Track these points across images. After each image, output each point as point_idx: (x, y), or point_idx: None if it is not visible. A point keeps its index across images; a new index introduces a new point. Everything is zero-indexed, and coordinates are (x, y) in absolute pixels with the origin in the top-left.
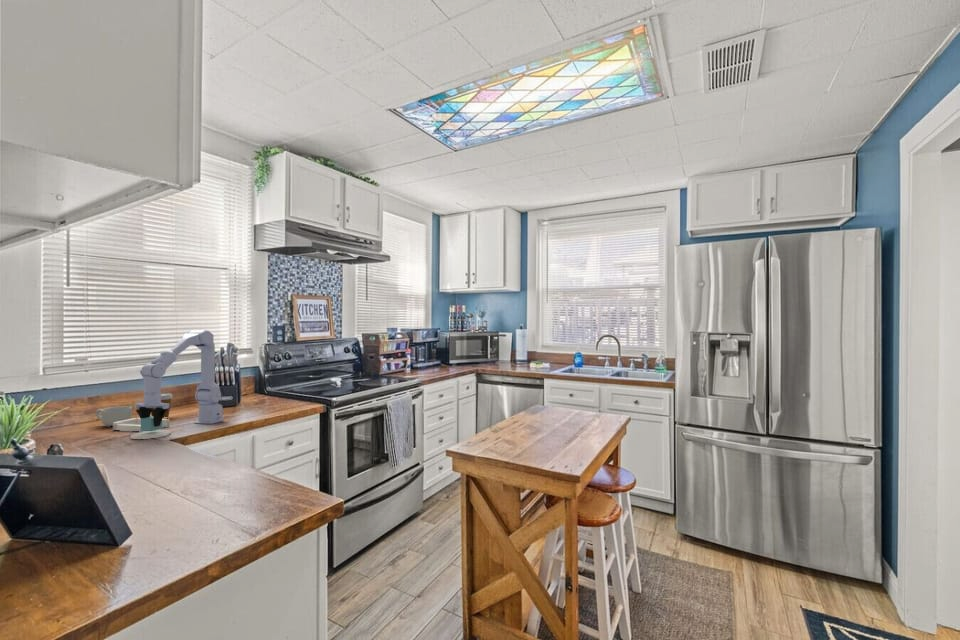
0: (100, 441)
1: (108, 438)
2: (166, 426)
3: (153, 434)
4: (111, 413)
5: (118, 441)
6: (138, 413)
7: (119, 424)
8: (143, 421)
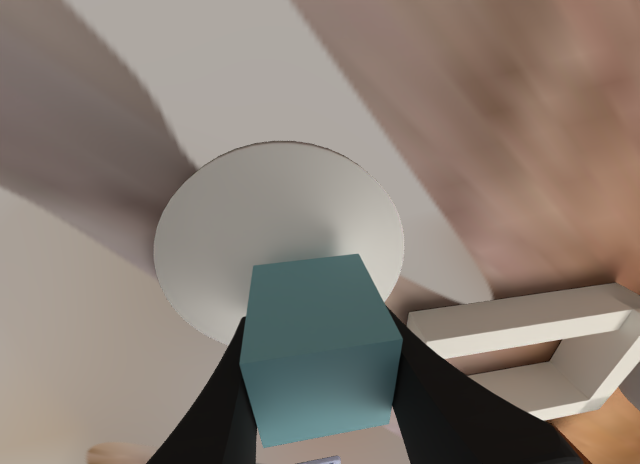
0: (526, 19)
1: (527, 130)
2: None
3: (236, 256)
4: None
5: (369, 57)
6: (489, 399)
7: (623, 320)
8: (352, 316)
